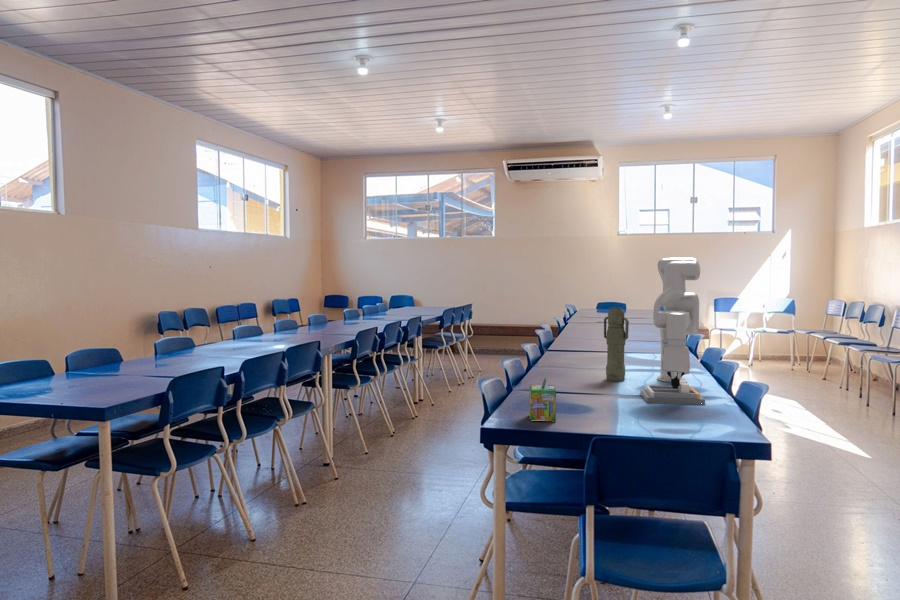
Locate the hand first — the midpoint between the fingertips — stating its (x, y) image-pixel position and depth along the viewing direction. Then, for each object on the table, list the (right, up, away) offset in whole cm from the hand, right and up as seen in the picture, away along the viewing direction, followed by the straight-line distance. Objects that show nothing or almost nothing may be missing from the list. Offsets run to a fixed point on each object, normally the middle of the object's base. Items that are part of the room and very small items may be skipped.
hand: (675, 387), depth 227 cm
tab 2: (+3, -3, -1) cm, 4 cm away
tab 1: (+5, -3, +5) cm, 8 cm away
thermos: (-11, -3, +44) cm, 45 cm away
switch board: (0, -5, +3) cm, 6 cm away
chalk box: (-58, -7, -26) cm, 64 cm away
